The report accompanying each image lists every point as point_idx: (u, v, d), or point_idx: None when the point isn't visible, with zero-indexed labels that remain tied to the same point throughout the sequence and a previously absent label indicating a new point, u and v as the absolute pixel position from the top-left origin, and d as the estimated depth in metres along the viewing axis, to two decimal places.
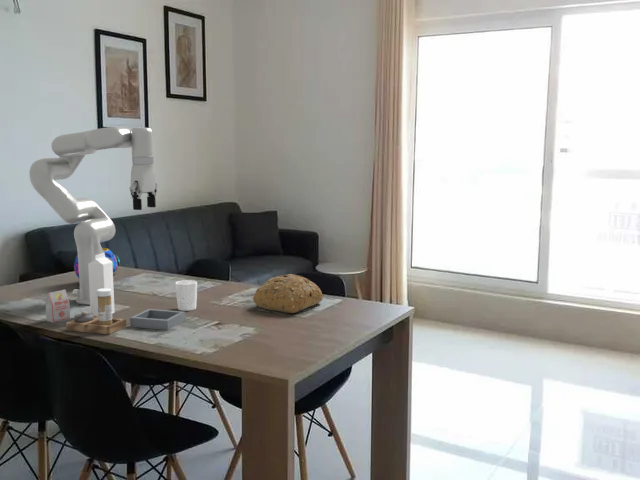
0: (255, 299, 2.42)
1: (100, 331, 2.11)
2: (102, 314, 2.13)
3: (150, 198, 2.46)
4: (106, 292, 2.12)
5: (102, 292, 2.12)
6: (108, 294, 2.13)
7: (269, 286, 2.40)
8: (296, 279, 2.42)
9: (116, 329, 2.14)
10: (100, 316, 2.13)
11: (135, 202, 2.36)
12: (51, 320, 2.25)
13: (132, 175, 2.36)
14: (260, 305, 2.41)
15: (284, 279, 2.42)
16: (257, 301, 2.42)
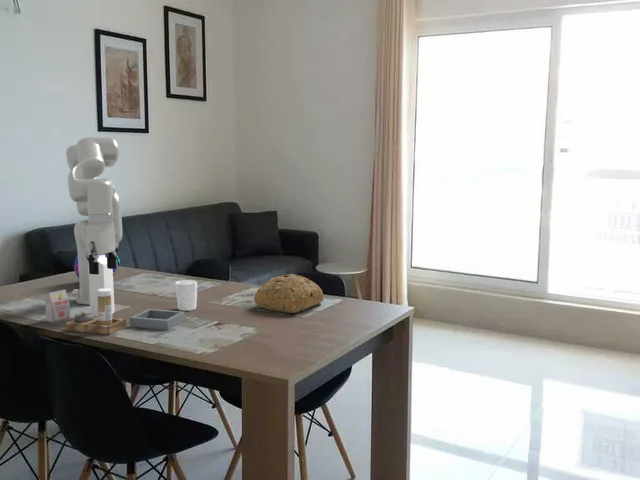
0: (256, 299, 2.42)
1: (100, 331, 2.11)
2: (102, 314, 2.13)
3: (110, 259, 2.17)
4: (106, 292, 2.12)
5: (102, 292, 2.12)
6: (108, 294, 2.13)
7: (270, 286, 2.40)
8: (297, 279, 2.42)
9: (116, 329, 2.14)
10: (100, 316, 2.13)
11: (92, 265, 2.07)
12: (51, 320, 2.25)
13: (88, 235, 2.07)
14: (261, 305, 2.41)
15: (285, 279, 2.42)
16: (258, 301, 2.41)
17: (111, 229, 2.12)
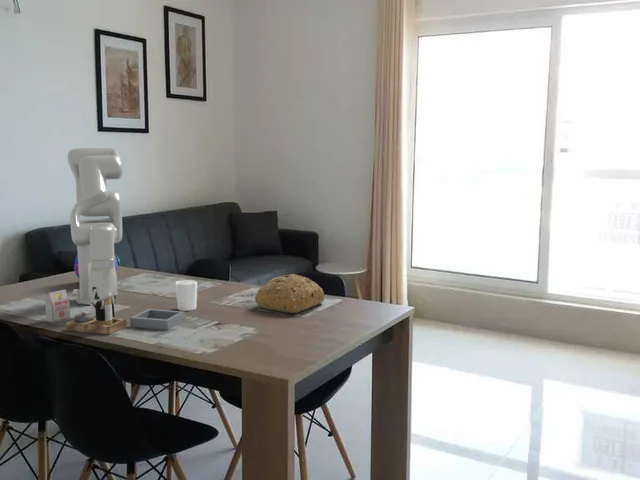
0: (257, 299, 2.42)
1: (100, 331, 2.11)
2: None
3: None
4: None
5: None
6: None
7: (271, 286, 2.40)
8: (298, 279, 2.42)
9: (116, 329, 2.14)
10: None
11: (98, 312, 2.12)
12: (51, 320, 2.25)
13: (90, 280, 2.09)
14: (262, 305, 2.41)
15: (286, 279, 2.42)
16: (258, 301, 2.41)
17: (113, 273, 2.15)
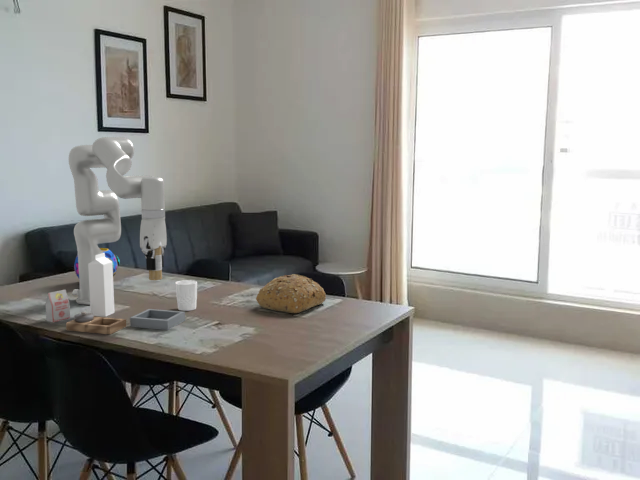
0: (258, 299, 2.42)
1: (100, 331, 2.11)
2: None
3: None
4: None
5: None
6: None
7: (272, 286, 2.40)
8: (299, 279, 2.42)
9: (116, 329, 2.14)
10: None
11: (149, 262, 2.17)
12: (51, 320, 2.25)
13: (142, 230, 2.14)
14: (263, 305, 2.41)
15: (287, 279, 2.41)
16: (260, 301, 2.41)
17: (163, 224, 2.19)
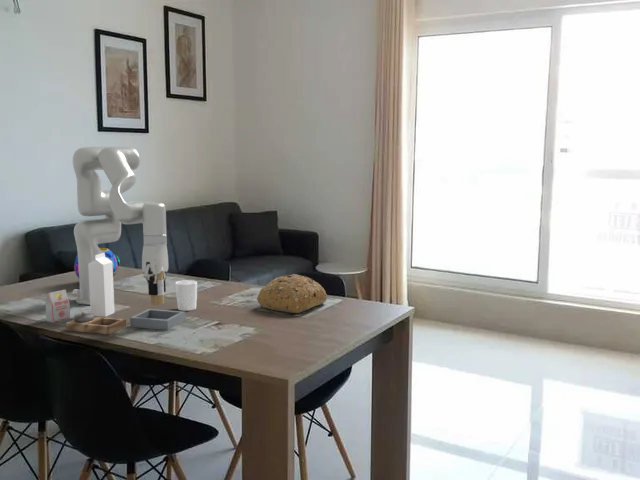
0: (259, 299, 2.42)
1: (100, 331, 2.11)
2: None
3: None
4: None
5: None
6: None
7: (273, 286, 2.40)
8: (300, 279, 2.42)
9: (116, 329, 2.14)
10: None
11: (151, 287, 2.18)
12: (51, 320, 2.25)
13: (144, 256, 2.15)
14: (264, 305, 2.41)
15: (288, 279, 2.41)
16: (261, 301, 2.41)
17: (165, 249, 2.21)
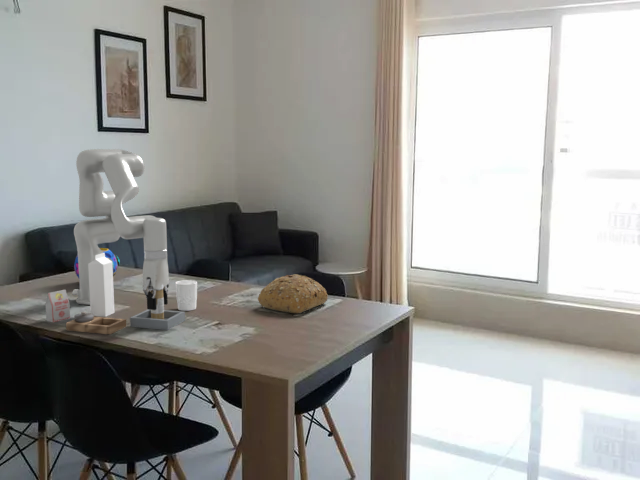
0: (260, 299, 2.42)
1: (100, 331, 2.11)
2: None
3: None
4: None
5: None
6: (160, 288, 2.20)
7: (274, 286, 2.40)
8: (301, 279, 2.42)
9: (116, 329, 2.14)
10: None
11: (150, 301, 2.17)
12: (51, 320, 2.25)
13: (144, 271, 2.16)
14: (265, 305, 2.41)
15: (289, 279, 2.41)
16: (262, 301, 2.41)
17: (165, 264, 2.21)
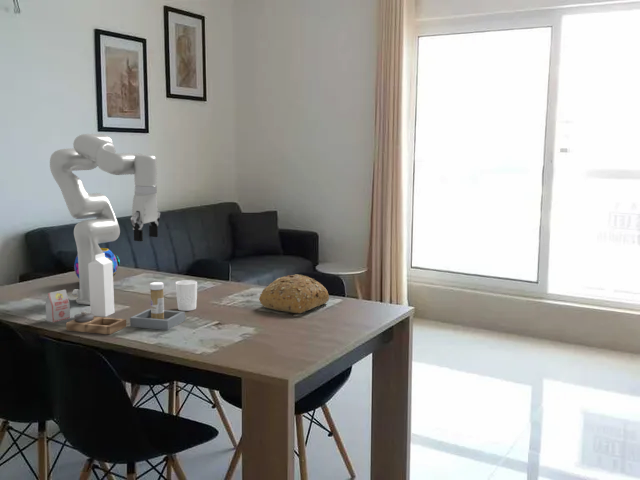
0: (261, 299, 2.42)
1: (100, 331, 2.11)
2: (155, 307, 2.20)
3: (152, 227, 2.35)
4: (159, 285, 2.19)
5: (155, 285, 2.19)
6: (161, 287, 2.20)
7: (275, 286, 2.39)
8: (302, 279, 2.42)
9: (116, 329, 2.14)
10: (153, 309, 2.20)
11: (136, 233, 2.26)
12: (51, 320, 2.25)
13: (134, 205, 2.25)
14: (266, 305, 2.41)
15: (290, 279, 2.41)
16: (263, 301, 2.41)
17: (155, 200, 2.31)
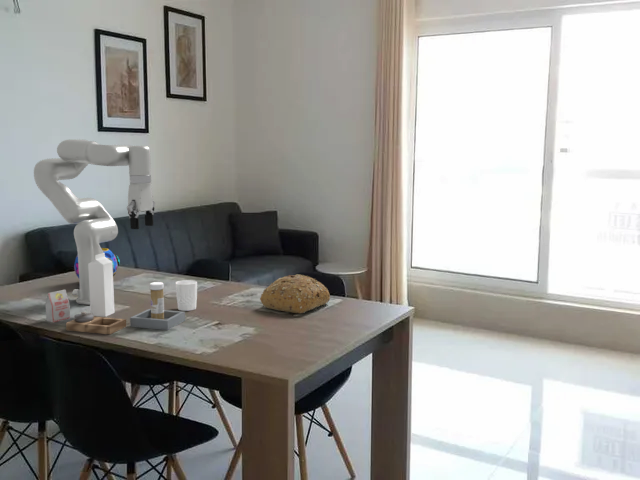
0: (262, 299, 2.42)
1: (100, 331, 2.11)
2: (155, 307, 2.20)
3: (148, 216, 2.43)
4: (159, 285, 2.19)
5: (155, 285, 2.19)
6: (161, 287, 2.20)
7: (276, 286, 2.39)
8: (303, 279, 2.42)
9: (116, 329, 2.14)
10: (153, 309, 2.20)
11: (133, 221, 2.33)
12: (51, 320, 2.25)
13: (129, 194, 2.33)
14: (267, 305, 2.41)
15: (291, 279, 2.41)
16: (264, 301, 2.41)
17: (149, 189, 2.38)
